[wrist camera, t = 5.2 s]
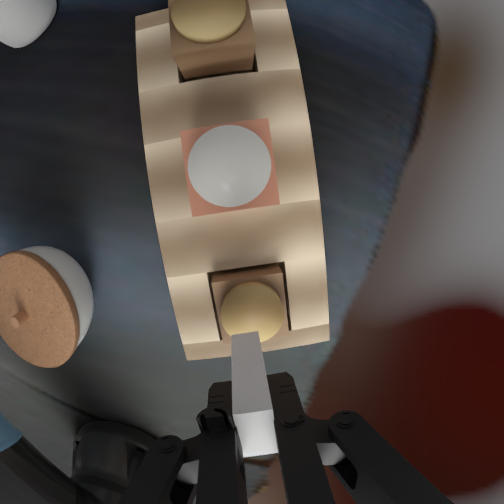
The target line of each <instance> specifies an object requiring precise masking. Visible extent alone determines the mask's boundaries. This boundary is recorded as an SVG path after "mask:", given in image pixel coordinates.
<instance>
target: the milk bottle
mask: <svg viewBox="0 0 504 504" xmlns="http://www.w3.org/2000/svg"><path fill="white" fill-rule="evenodd" d="M56 8H57V3H56V0H0V42H2V43H4V44H6V45H8V46H11V47H13V48H20V47H24V46H27V45H29V44H30V43H32V42H33V41H35V40H36V39H37V38H38V37H39V36H41V34H42V33H43V32H44V31H45V30H46V29H47V27H48V26H49V25H50V23H51V22H52V20H53V18H54V16H55V13H56Z"/></svg>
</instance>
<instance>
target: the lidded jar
mask: <svg viewBox="0 0 504 504" xmlns="http://www.w3.org/2000/svg"><path fill="white" fill-rule="evenodd" d="M93 308H94V299H93V293H92V288H91V285H90V282H89V279H88V277H87V275H86V273H85V272H84V270H83V268H82V267H81V266H80V264H79V263H78V262H77V261H76V260H75V259H74V258H72V257H71V256H70V255H69V254H67V253H65V252H64V251H62V250H59V249H57V248H54V247H49V246H32V247H27V248H24V249H20V250H16V251H12V252H9V253H6V254H4V255H2V256H1V257H0V335H1V337H2V338H3V340H4V341H5V342H6V344H7V345H8V346H9V347H10V348H11V349H12V350H13V351H14V352H15V353H16V354H17V355H18V356H20V357H21V358H22V359H24V360H25V361H27V362H29V363H31V364H33V365H36V366H39V367H44V368H53V367H58V366H60V365H62V364H64V363H65V362H66V361H67V360H68V359H69V358H70V357H71V356H72V354H73V353H74V351H75V350H76V348H77V346H78V345H79V344H80V342H81V341H82V340H83V338H84V336H85V335H86V333H87V331H88V328H89V326H90V323H91V320H92V316H93Z"/></svg>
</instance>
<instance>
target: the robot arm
mask: <svg viewBox="0 0 504 504" xmlns="http://www.w3.org/2000/svg"><path fill="white" fill-rule="evenodd" d="M231 361H232V381H226V382H218V383H213V385H212V386H211V387H210V389H209V393H208V405H207V408H206V409H204V410H202V411H201V412H200V413H199V414H198V416H197V418H196V419H197V422H198V425H199V428H200V430H201V433H200V434H199V435H197V436H195V437H193V438H190V439H186V440H183V441H182V440H181V439H180V438H179V437H177V436H173V435H167V436H163V437H160V438H158V439H157V440H156V439H155V438H153V437H152V436H150V435H148V434H147V433H145V432H143V431H141V430H138V429H136V428H134V427H131V426H128V425H125V424H121V423H117V422H113V421H103V420H99V421H91V422H88V423H86V424H84V425H83V426H82V427H81V428H80V430H79V432H78V434H77V436H76V437H75V440H74V446H73V462H72V476H71V478H69V477H68V476H67V475H66V474H64V473H63V472H62V471H61V470H59V469H58V468H57V467H56V466H55V465H54V464H53V463H51V462H50V461H49V460H48V459H47V458H46V457H45V456H44V455H42V454H41V453H40V452H39V451H38V450H37V449H36V448H35V447H34V446H33V445H32V444H31V443H30V442H29V441H28V440H27V439H26V438H25V437H24V436H23V434H22V433H21V432H20V430H19V429H17V428H15V427H14V426H13V425H12V424H11V423H10V422H9V421H8V420H7V419H6V418H5V417H4V416H3V415H2V414H1V413H0V504H192V503H193V501H194V498H195V496H196V504H248V499H247V486H246V473H245V465H244V461H243V456H244V457H250V456H258V455H265V454H272V453H279V459H280V466H281V471H282V476H283V482H284V487H285V493H286V498H287V503H288V504H335V501H334V498H333V495H332V492H331V489H330V485H329V482H328V479H327V476H326V473H325V470H324V466H323V465H329V467H330V469H331V470H332V471H333V473H334V474H335V475H336V477H337V478H338V479H339V481H340V482H341V483H342V485H343V486H344V487H345V489H346V490H347V491H348V492H349V494H350V495H351V496H352V498H353V499H354V500H355V501H356V503H357V504H454V503H452V502H451V501H450V500H449V499H448V498H447V497H446V496H445V495H444V494H442V493H441V492H440V491H439V490H438V489H437V488H436V487H435V486H434V485H433V484H432V483H430V482H429V481H428V480H427V479H426V478H425V477H424V476H423V475H422V474H421V473H420V472H419V471H418V470H416V469H415V468H414V467H413V466H412V465H411V464H410V463H409V462H408V461H407V460H406V459H405V458H404V457H403V456H402V455H401V454H400V453H399V452H397V451H396V450H395V449H394V448H393V447H392V446H391V445H390V444H389V443H388V442H387V441H386V440H385V439H384V438H383V437H382V436H381V435H380V434H379V433H378V432H377V431H376V430H375V429H374V428H373V427H372V426H371V425H370V424H368V422H367V421H366V420H365V419H364V418H362V416H361V415H359V414H358V413H356V412H353V411H341V412H337V413H335V414H334V415H333V416H331V418H330V419H329V420H318V419H313V418H311V417H309V416H307V415H306V414H305V413H304V411H303V408H302V405H301V402H300V398H299V395H298V392H297V389H296V386H295V383H294V379H293V377H292V376H291V375H290V374H288V373H287V372H283V373H277V374H271V375H266V370H265V365H264V360H263V354H262V349H261V344H260V338H259V333H258V331H255V332H248V333H241V334H234V335H231ZM196 493H197V495H196Z"/></svg>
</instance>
